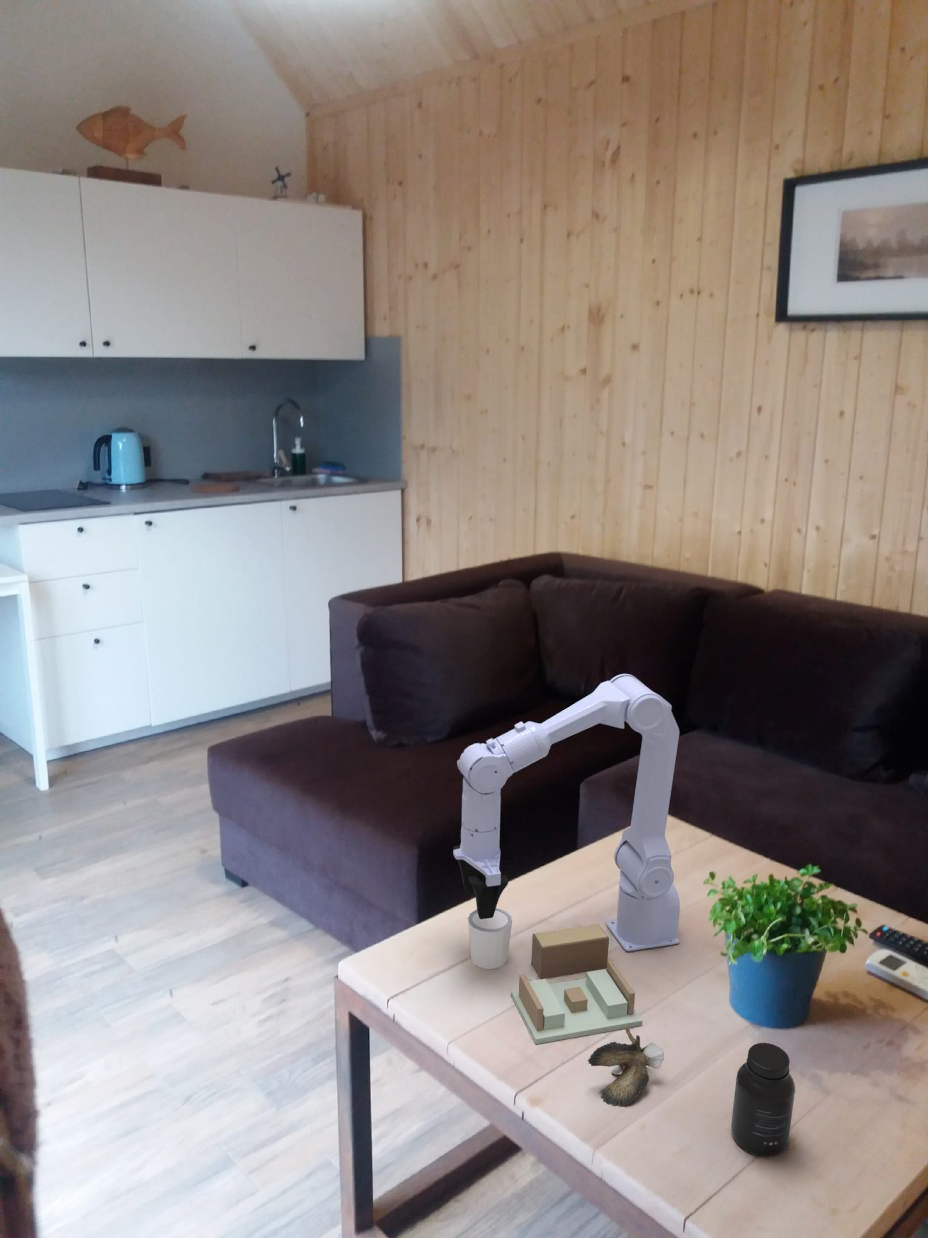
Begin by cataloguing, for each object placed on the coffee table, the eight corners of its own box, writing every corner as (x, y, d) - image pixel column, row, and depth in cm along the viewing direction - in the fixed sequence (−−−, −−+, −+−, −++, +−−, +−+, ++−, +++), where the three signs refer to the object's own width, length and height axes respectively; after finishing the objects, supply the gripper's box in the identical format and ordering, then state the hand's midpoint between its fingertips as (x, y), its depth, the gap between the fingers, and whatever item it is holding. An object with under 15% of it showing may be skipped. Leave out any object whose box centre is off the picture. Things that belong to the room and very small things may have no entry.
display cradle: (610, 978, 153) (612, 953, 152) (642, 1025, 143) (644, 999, 142) (510, 995, 149) (511, 969, 147) (535, 1044, 139) (536, 1017, 137)
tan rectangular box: (596, 954, 159) (598, 922, 158) (607, 969, 155) (609, 937, 154) (531, 965, 156) (532, 933, 155) (540, 980, 152) (541, 947, 151)
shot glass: (511, 947, 160) (513, 908, 158) (509, 973, 154) (511, 933, 152) (469, 943, 161) (470, 905, 159) (464, 969, 154) (465, 929, 152)
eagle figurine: (608, 1041, 138) (574, 1066, 131) (640, 1013, 135) (607, 1036, 128) (645, 1091, 135) (611, 1119, 127) (678, 1063, 131) (646, 1090, 124)
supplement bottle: (722, 1117, 126) (731, 1036, 123) (775, 1115, 127) (785, 1034, 124) (741, 1161, 120) (751, 1077, 116) (797, 1158, 120) (808, 1074, 117)
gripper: (442, 804, 156) (441, 882, 160) (468, 850, 142) (466, 934, 146) (486, 799, 158) (484, 877, 161) (515, 844, 144) (512, 927, 148)
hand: (478, 903), depth 154 cm, fingers open, 7 cm apart
